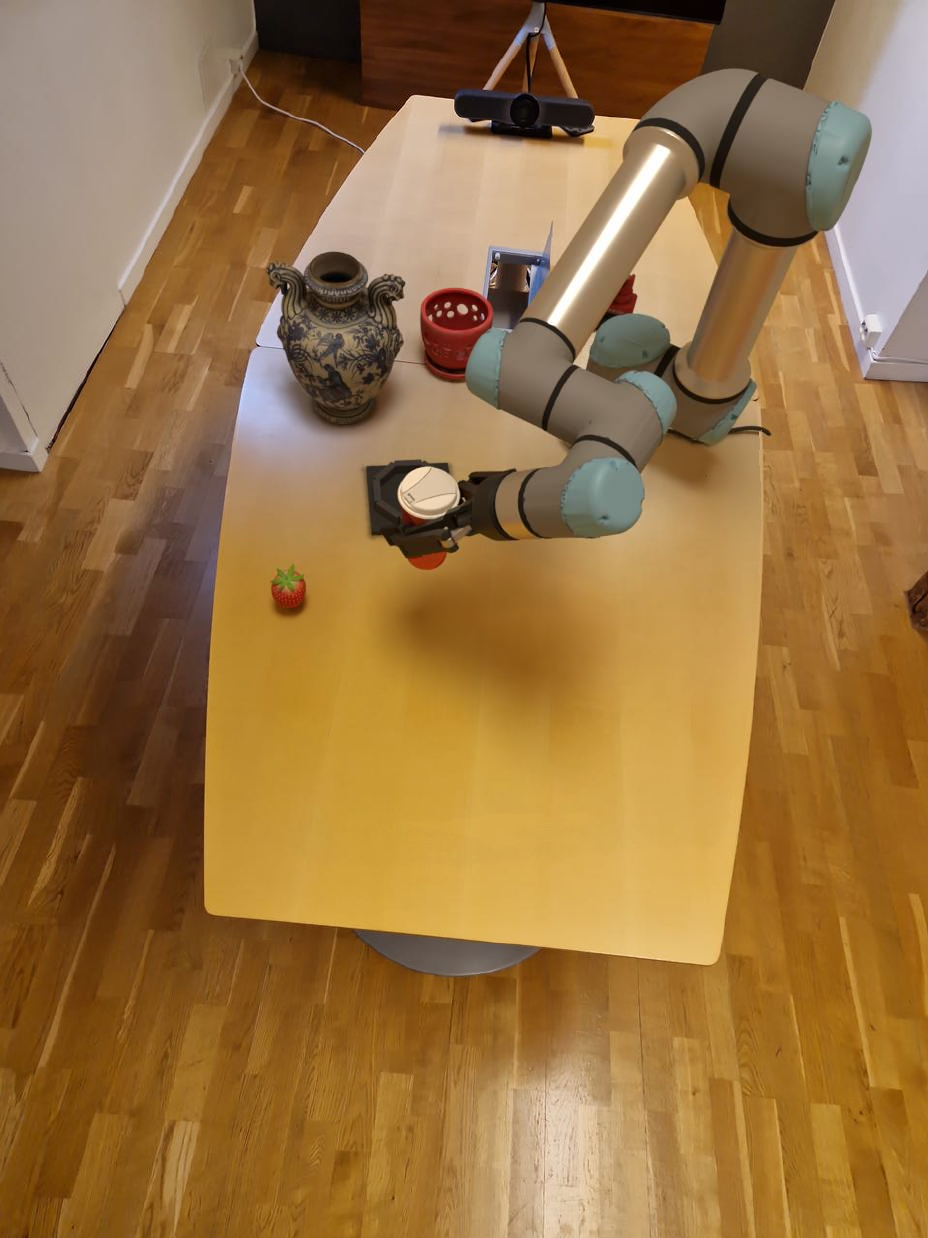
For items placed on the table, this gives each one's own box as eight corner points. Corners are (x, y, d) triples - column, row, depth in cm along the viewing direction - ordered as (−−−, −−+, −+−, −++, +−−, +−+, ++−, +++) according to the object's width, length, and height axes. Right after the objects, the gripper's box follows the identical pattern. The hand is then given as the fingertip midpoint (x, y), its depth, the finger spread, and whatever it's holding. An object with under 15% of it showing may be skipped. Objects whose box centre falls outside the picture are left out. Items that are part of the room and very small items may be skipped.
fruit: (310, 615, 124) (305, 587, 117) (275, 619, 123) (268, 591, 116) (307, 586, 127) (302, 556, 120) (273, 590, 126) (266, 560, 119)
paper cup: (418, 586, 109) (421, 522, 97) (387, 546, 112) (385, 480, 100) (465, 559, 111) (473, 494, 99) (433, 521, 114) (437, 453, 102)
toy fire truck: (560, 294, 167) (576, 213, 152) (632, 316, 166) (656, 236, 150) (543, 328, 162) (559, 248, 147) (618, 351, 160) (642, 272, 145)
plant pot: (500, 356, 157) (507, 303, 146) (463, 395, 150) (468, 343, 140) (443, 328, 159) (446, 274, 149) (405, 365, 153) (405, 312, 143)
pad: (447, 466, 141) (448, 454, 139) (456, 530, 134) (458, 519, 132) (366, 469, 140) (365, 457, 137) (371, 535, 133) (371, 524, 130)
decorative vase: (406, 371, 153) (409, 234, 129) (399, 445, 143) (401, 312, 119) (292, 362, 152) (273, 222, 128) (277, 436, 142) (253, 300, 118)
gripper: (476, 591, 87) (369, 587, 105) (587, 481, 96) (471, 495, 114) (440, 534, 84) (337, 540, 102) (558, 426, 93) (444, 449, 111)
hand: (408, 516), depth 108 cm, fingers closed on paper cup, 8 cm apart
